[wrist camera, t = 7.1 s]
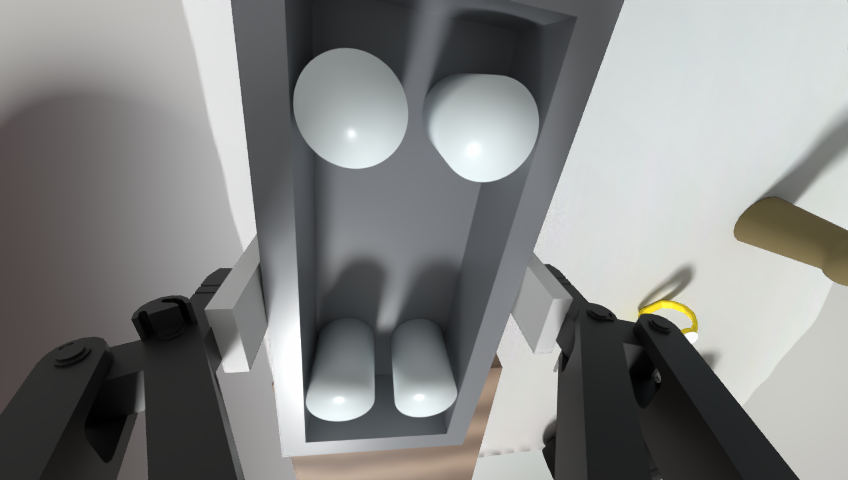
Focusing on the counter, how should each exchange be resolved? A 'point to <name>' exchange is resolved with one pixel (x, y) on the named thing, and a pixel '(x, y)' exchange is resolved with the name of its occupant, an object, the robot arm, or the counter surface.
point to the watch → (688, 332)
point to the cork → (796, 236)
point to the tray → (402, 197)
